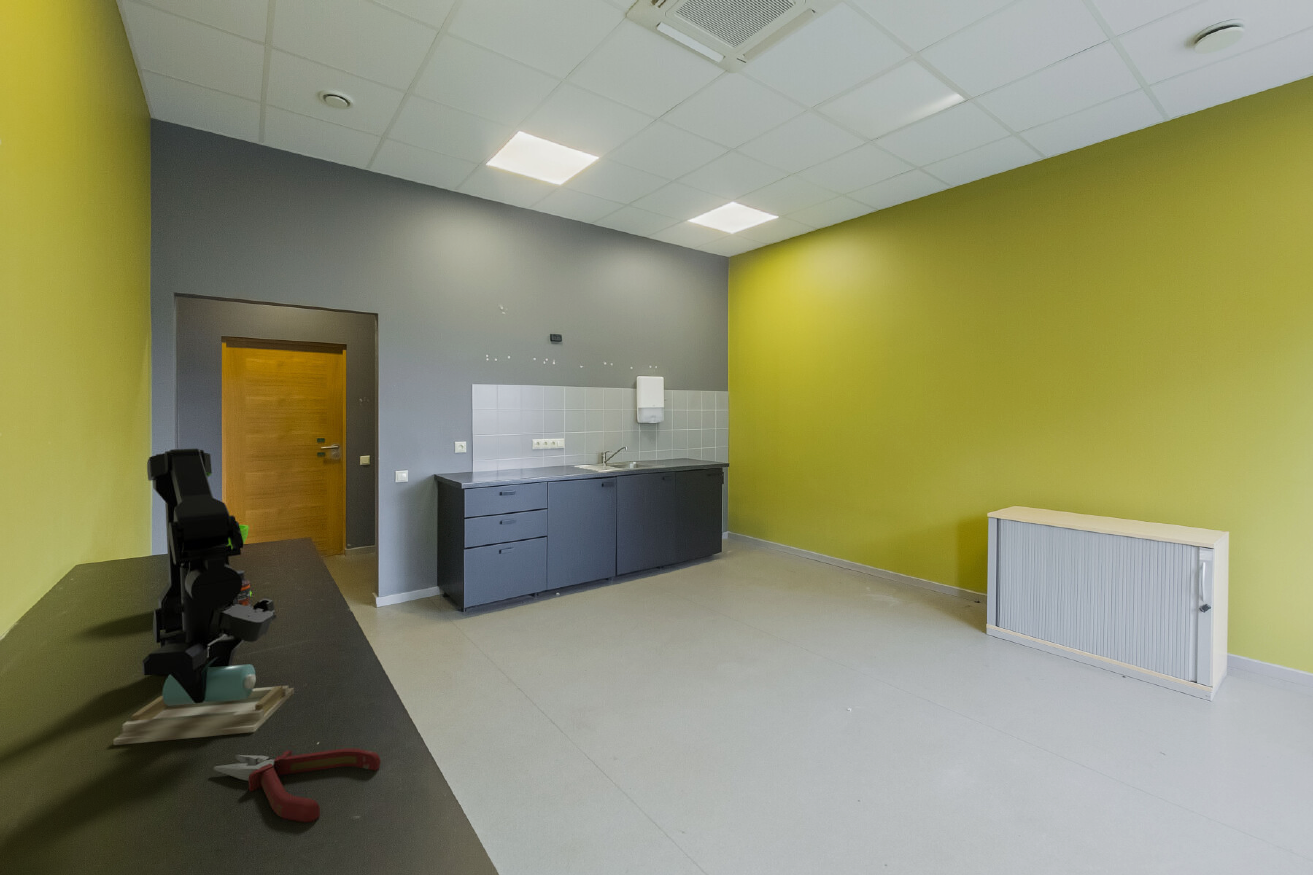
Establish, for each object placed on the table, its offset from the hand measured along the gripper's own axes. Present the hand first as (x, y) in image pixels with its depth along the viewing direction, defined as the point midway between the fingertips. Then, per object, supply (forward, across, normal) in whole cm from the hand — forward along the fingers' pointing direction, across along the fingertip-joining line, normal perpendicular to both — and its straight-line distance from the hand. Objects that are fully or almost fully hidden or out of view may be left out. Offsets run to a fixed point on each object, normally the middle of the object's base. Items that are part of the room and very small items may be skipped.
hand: (210, 694), depth 87 cm
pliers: (+4, -18, -21) cm, 28 cm away
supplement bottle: (+4, +46, +21) cm, 51 cm away
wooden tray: (+4, 0, 0) cm, 4 cm away
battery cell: (+1, 0, 0) cm, 1 cm away
